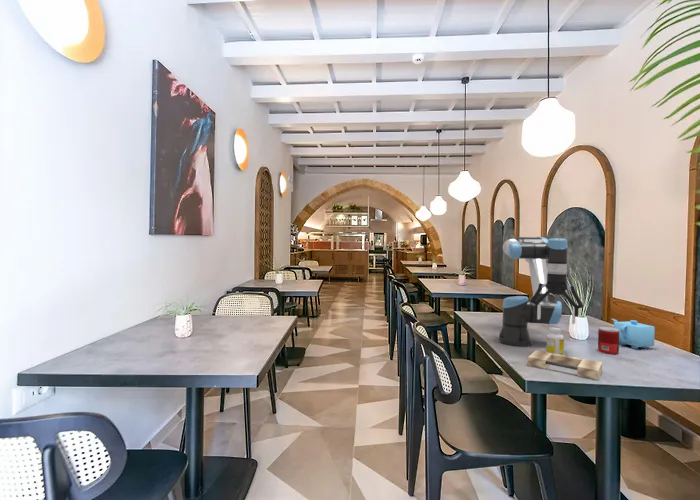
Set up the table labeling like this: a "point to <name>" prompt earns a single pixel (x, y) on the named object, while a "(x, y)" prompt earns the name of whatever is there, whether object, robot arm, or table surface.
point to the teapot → (635, 334)
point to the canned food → (608, 340)
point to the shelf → (566, 363)
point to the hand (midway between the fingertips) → (555, 321)
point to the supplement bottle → (555, 341)
